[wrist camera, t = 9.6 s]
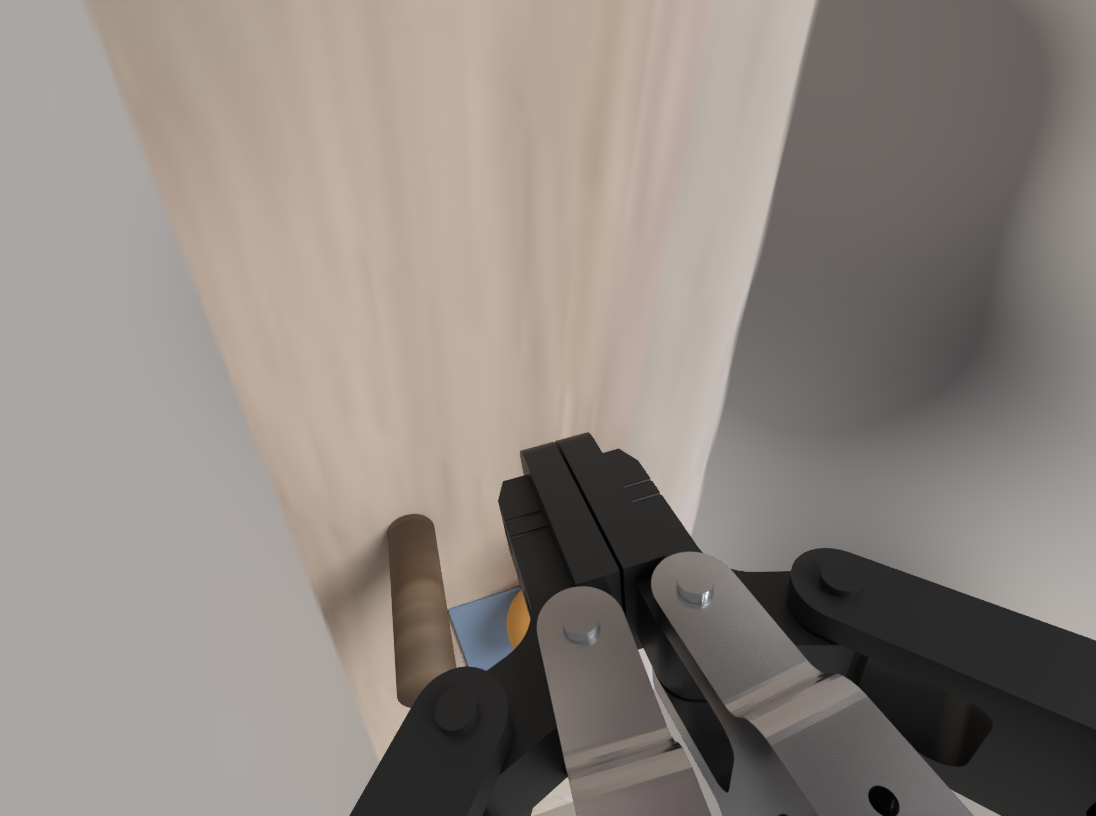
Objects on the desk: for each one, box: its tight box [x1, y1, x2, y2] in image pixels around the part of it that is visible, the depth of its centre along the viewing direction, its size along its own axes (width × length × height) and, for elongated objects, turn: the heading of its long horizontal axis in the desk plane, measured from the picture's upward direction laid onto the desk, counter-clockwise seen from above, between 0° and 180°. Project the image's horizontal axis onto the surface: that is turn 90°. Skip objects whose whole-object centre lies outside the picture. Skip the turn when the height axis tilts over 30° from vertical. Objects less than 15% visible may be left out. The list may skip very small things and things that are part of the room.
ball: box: [507, 590, 530, 649], centre depth 32 cm, size 5×5×5 cm
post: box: [388, 514, 456, 708], centre depth 25 cm, size 2×2×9 cm
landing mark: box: [449, 587, 522, 671], centre depth 38 cm, size 14×10×1 cm
